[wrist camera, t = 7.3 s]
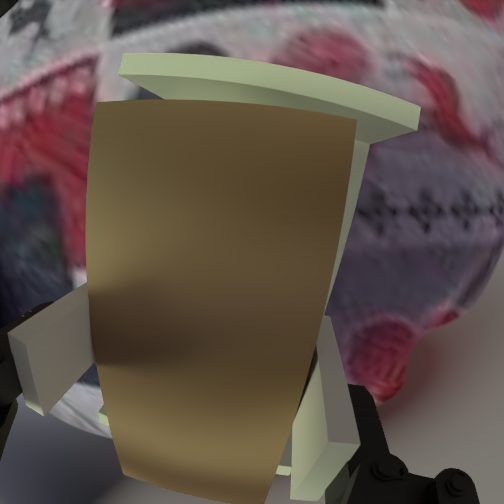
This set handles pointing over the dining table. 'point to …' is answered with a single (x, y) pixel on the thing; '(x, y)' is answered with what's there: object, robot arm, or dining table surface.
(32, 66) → the dining table surface
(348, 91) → the shelf frame
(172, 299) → the brown long block
